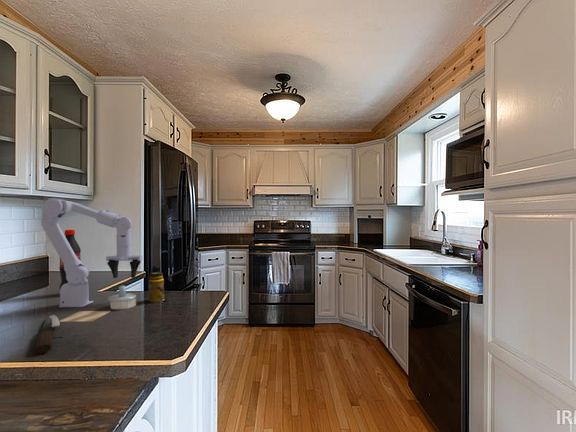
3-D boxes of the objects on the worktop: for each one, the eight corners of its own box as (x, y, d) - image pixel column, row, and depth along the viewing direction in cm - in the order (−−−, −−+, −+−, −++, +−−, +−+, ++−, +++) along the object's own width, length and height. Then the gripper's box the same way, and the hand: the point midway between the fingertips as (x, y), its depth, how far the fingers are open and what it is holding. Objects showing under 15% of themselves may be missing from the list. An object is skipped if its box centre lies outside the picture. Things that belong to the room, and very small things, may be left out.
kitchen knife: (57, 341, 90) (34, 347, 87) (58, 348, 90) (35, 355, 87) (60, 309, 119) (43, 313, 117) (61, 315, 120) (44, 319, 117)
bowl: (105, 310, 128) (105, 301, 128) (118, 303, 137) (118, 295, 137) (129, 310, 128) (128, 300, 128) (139, 303, 137) (139, 295, 137)
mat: (57, 322, 113) (57, 321, 113) (79, 312, 125) (79, 311, 125) (92, 322, 113) (92, 321, 113) (111, 312, 125) (111, 311, 125)
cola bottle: (55, 295, 152) (54, 229, 152) (73, 291, 160) (72, 229, 160) (67, 296, 149) (66, 230, 149) (85, 292, 157) (84, 229, 157)
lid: (102, 301, 127) (102, 289, 127) (117, 295, 137) (117, 283, 137) (127, 302, 126) (127, 289, 126) (141, 295, 136) (141, 283, 136)
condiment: (166, 301, 139) (166, 273, 139) (145, 305, 135) (144, 275, 135) (162, 298, 146) (162, 270, 145) (141, 301, 141) (141, 272, 141)
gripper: (101, 246, 137) (102, 279, 137) (136, 246, 137) (137, 279, 137) (111, 245, 144) (111, 276, 144) (144, 244, 144) (144, 276, 144)
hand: (124, 277), depth 141 cm, fingers open, 7 cm apart
